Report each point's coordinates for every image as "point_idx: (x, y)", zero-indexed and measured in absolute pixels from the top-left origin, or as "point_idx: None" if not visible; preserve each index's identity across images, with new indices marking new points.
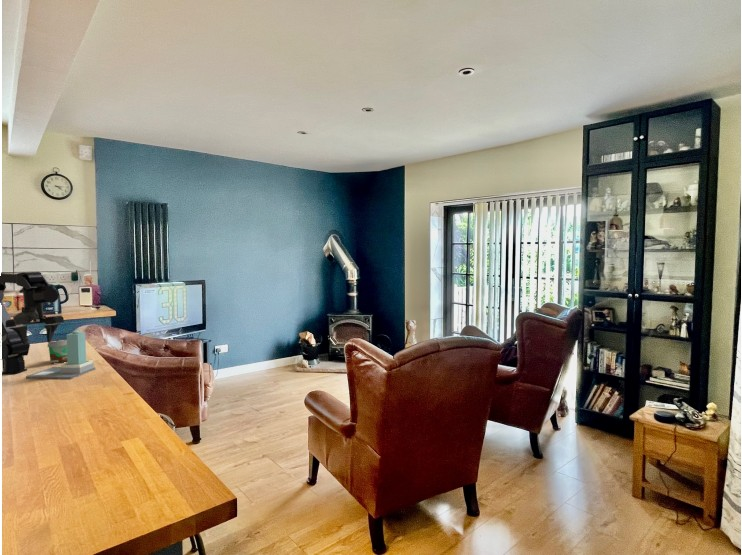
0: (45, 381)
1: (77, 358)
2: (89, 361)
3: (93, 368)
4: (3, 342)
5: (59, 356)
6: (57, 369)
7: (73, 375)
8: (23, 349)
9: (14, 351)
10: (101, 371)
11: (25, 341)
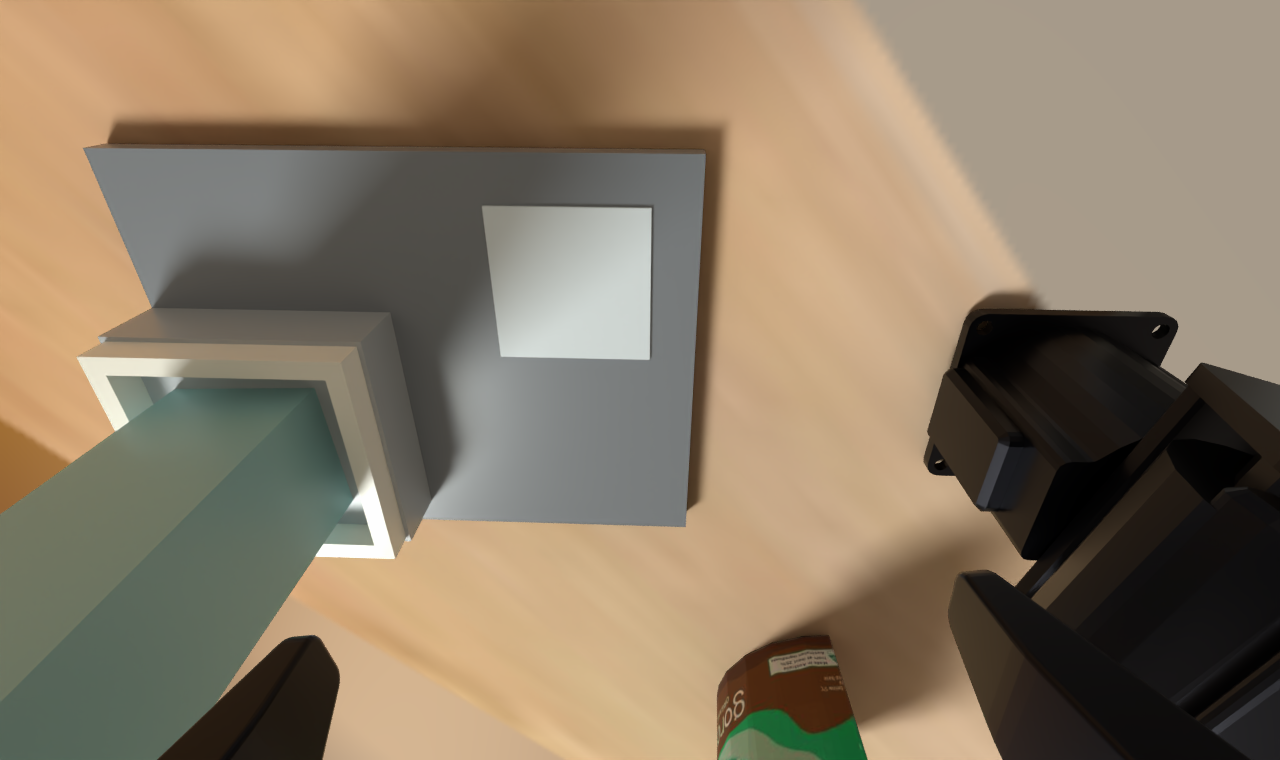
0: (315, 8)
1: (104, 453)
2: None
3: None
4: None
5: (765, 712)
6: (559, 443)
7: (125, 215)
8: (1045, 607)
9: (1149, 488)
10: None
11: (979, 658)
